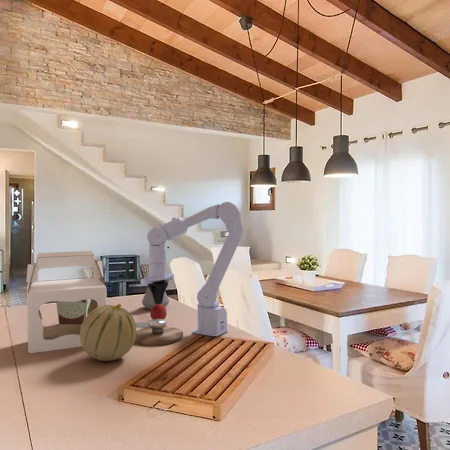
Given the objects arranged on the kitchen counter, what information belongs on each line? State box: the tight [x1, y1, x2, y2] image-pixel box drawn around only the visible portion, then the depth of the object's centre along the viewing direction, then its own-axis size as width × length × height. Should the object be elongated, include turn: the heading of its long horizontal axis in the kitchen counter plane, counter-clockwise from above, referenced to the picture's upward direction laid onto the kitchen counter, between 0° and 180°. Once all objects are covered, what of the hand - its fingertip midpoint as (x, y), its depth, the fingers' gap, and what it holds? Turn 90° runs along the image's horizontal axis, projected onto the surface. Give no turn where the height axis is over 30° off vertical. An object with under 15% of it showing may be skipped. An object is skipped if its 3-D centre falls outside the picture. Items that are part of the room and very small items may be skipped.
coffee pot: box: [141, 280, 174, 311], centre depth 171 cm, size 21×12×15 cm, turn 32°
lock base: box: [134, 326, 184, 346], centre depth 131 cm, size 16×16×4 cm
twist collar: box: [135, 318, 168, 329], centre depth 130 cm, size 14×6×2 cm, turn 104°
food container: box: [54, 299, 90, 326], centre depth 151 cm, size 12×6×10 cm, turn 84°
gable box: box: [25, 250, 108, 354], centre depth 127 cm, size 22×13×28 cm, turn 117°
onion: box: [149, 304, 168, 320], centre depth 149 cm, size 6×6×8 cm
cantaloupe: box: [80, 303, 137, 362], centre depth 111 cm, size 15×15×15 cm
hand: (158, 303), depth 139 cm, fingers closed
